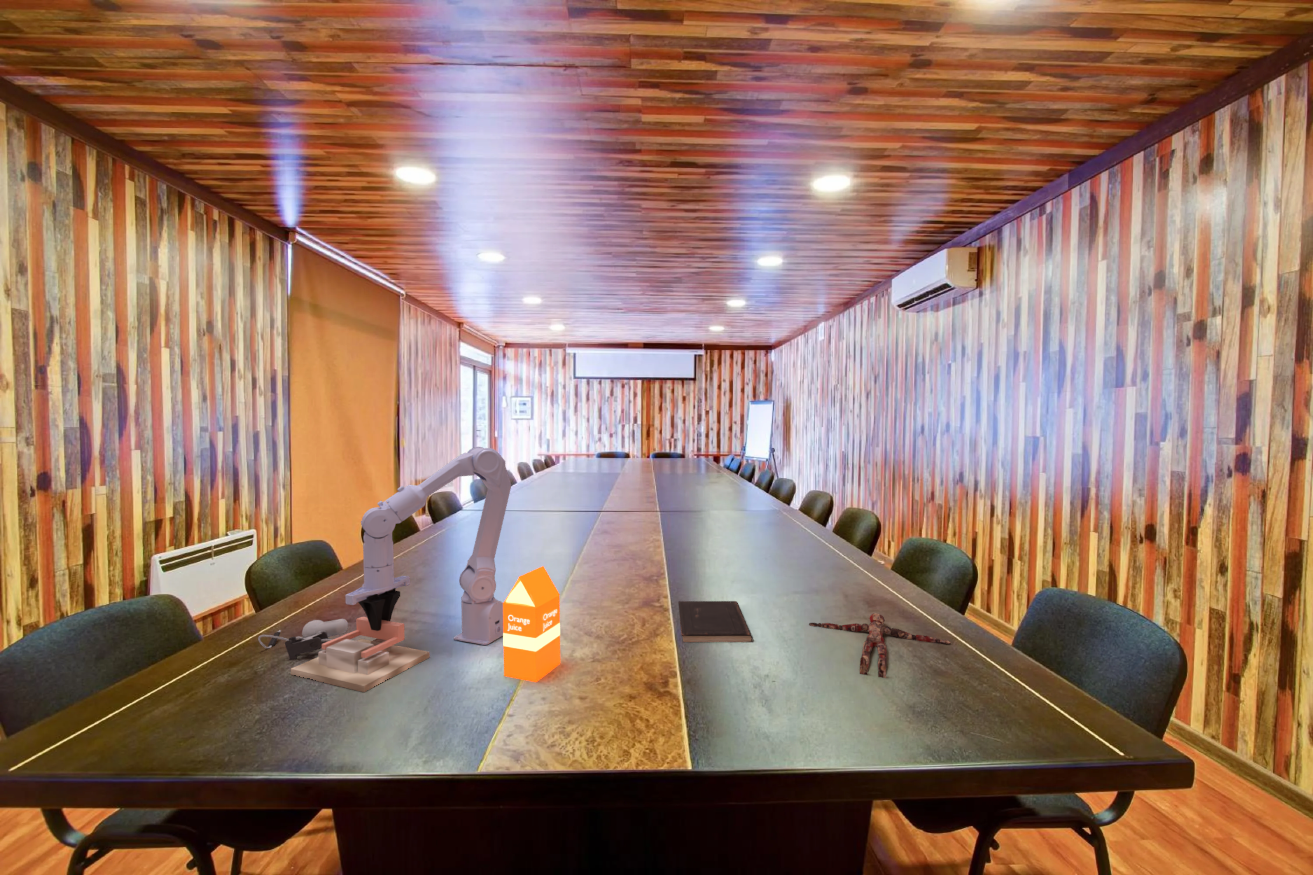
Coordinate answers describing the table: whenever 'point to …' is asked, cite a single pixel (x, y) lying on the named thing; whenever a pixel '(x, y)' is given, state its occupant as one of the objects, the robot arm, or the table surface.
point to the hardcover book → (713, 622)
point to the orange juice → (531, 627)
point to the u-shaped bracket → (373, 635)
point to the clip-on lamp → (310, 636)
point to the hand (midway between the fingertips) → (380, 627)
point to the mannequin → (877, 640)
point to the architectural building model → (359, 664)
